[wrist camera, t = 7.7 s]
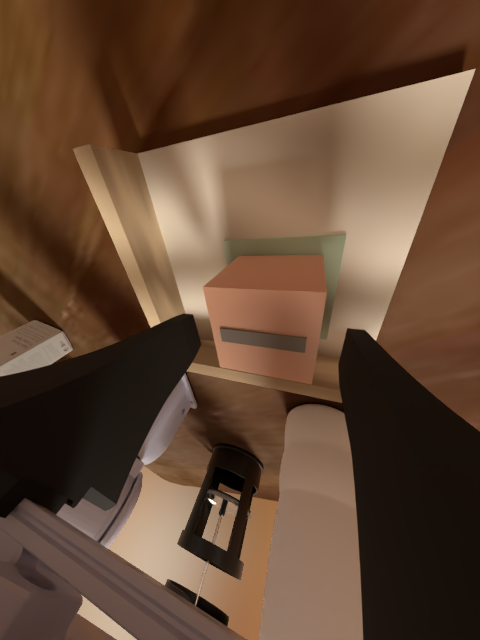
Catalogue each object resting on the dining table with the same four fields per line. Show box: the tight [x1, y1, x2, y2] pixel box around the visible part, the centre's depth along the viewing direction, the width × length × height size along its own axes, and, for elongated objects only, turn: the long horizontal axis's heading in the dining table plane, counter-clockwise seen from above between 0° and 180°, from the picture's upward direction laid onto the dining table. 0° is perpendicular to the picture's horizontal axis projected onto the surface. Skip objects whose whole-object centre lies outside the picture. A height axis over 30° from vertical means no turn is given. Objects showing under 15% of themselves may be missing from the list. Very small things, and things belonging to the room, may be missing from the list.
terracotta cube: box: [203, 255, 327, 385], centre depth 11 cm, size 5×5×5 cm
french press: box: [165, 444, 263, 626], centre depth 25 cm, size 12×9×23 cm
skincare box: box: [0, 320, 73, 376], centre depth 25 cm, size 6×4×12 cm
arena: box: [73, 69, 475, 403], centre depth 12 cm, size 15×16×4 cm
